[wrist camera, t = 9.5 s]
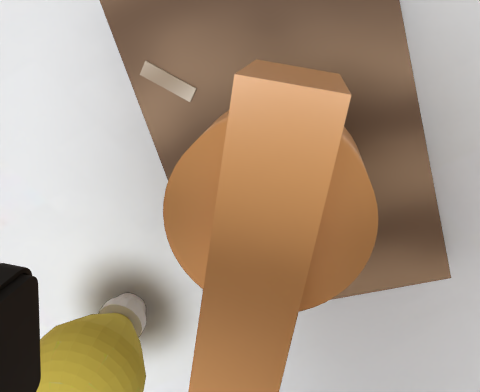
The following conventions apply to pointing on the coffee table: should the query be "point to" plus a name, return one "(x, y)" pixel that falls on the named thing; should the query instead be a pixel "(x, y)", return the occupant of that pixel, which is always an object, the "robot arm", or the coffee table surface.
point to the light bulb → (96, 350)
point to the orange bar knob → (268, 220)
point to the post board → (307, 56)
